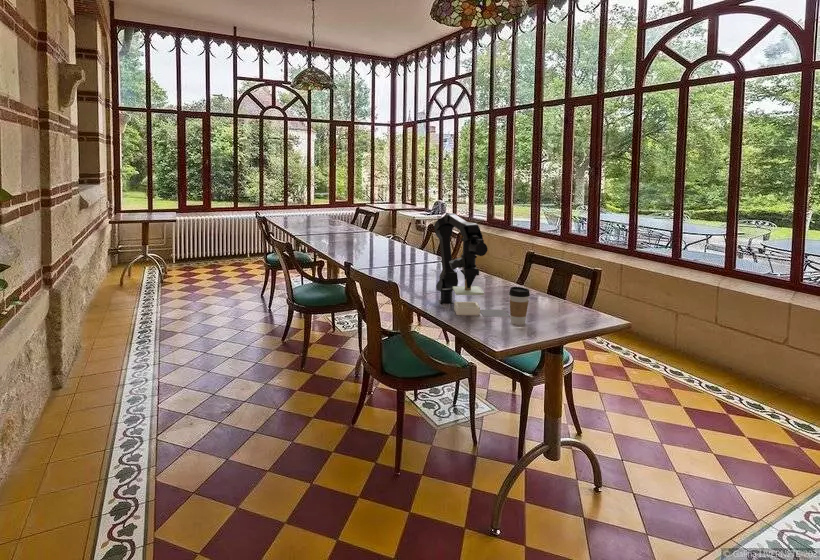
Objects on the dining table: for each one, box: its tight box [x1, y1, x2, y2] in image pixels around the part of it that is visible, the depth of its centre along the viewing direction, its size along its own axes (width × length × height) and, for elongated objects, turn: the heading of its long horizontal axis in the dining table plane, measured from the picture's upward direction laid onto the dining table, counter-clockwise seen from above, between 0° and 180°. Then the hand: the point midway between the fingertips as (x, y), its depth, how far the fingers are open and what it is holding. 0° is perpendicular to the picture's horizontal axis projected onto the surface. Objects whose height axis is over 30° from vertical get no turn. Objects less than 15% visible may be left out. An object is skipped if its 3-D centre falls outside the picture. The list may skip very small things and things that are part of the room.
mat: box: [480, 309, 510, 318], centre depth 237 cm, size 12×12×1 cm
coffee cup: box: [508, 286, 531, 326], centre depth 221 cm, size 8×8×15 cm
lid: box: [452, 278, 485, 296], centre depth 235 cm, size 12×12×6 cm
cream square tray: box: [453, 301, 481, 317], centre depth 237 cm, size 10×10×4 cm
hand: (467, 287), depth 235 cm, fingers closed on lid, 3 cm apart
